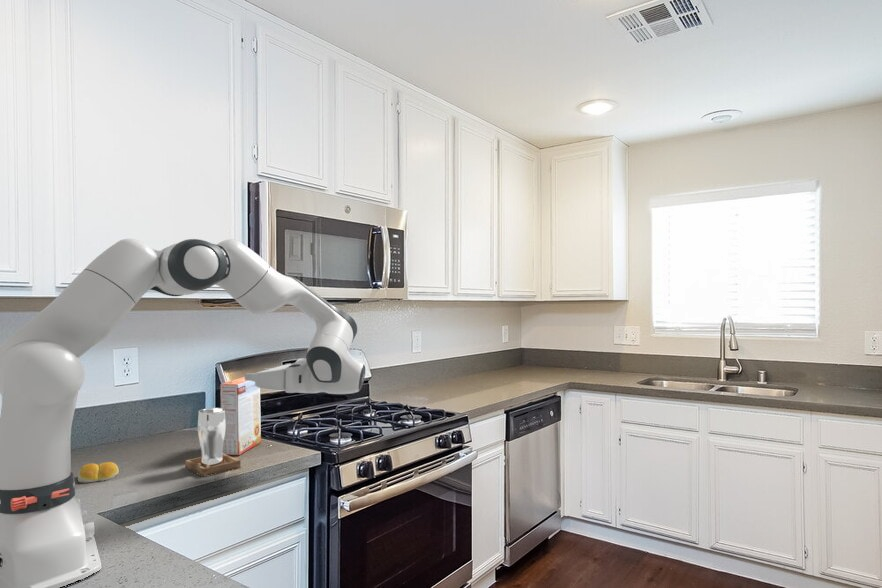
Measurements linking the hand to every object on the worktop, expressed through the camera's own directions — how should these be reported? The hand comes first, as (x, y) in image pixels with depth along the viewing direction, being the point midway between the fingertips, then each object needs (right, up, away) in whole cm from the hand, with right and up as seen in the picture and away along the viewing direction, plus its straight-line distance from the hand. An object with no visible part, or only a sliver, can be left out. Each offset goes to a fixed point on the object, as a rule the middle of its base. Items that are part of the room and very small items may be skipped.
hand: (254, 374), depth 149 cm
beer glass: (-12, -25, +2) cm, 28 cm away
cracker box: (-11, -26, +20) cm, 34 cm away
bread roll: (-38, -26, -6) cm, 47 cm away
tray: (-12, -26, +2) cm, 28 cm away
